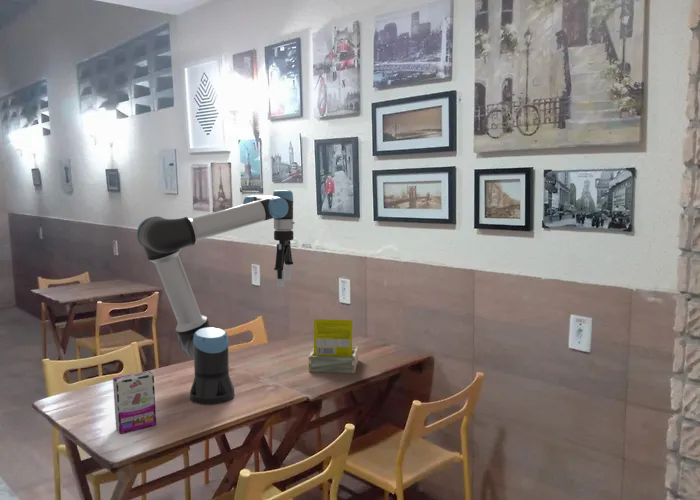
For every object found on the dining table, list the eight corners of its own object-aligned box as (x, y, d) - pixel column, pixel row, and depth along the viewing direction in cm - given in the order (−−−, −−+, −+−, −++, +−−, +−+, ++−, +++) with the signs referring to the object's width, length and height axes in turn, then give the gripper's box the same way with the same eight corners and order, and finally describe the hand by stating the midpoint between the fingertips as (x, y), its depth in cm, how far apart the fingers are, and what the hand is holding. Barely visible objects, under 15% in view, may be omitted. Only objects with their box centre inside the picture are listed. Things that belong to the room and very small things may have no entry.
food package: (351, 370, 234) (352, 320, 236) (351, 370, 233) (352, 320, 235) (313, 369, 235) (314, 319, 237) (313, 369, 234) (314, 319, 236)
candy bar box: (151, 420, 186) (149, 370, 184) (156, 425, 182) (154, 374, 180) (114, 428, 180) (112, 377, 177) (119, 434, 176) (116, 381, 173)
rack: (354, 373, 231) (354, 358, 230) (308, 371, 233) (308, 356, 232) (358, 360, 247) (358, 346, 246) (315, 358, 249) (315, 345, 248)
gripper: (286, 233, 216) (287, 289, 219) (299, 227, 241) (299, 278, 243) (266, 232, 217) (267, 289, 219) (281, 227, 241) (281, 278, 244)
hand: (284, 283), depth 231 cm, fingers open, 13 cm apart
